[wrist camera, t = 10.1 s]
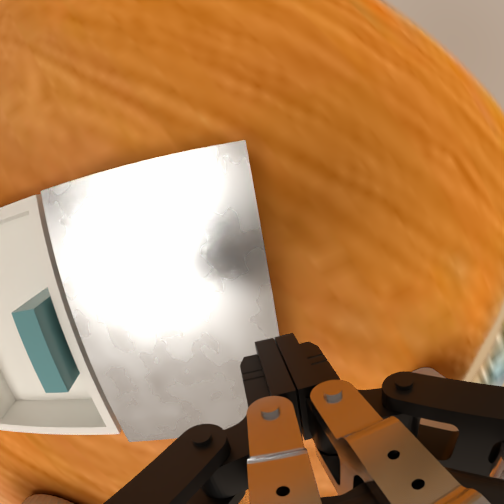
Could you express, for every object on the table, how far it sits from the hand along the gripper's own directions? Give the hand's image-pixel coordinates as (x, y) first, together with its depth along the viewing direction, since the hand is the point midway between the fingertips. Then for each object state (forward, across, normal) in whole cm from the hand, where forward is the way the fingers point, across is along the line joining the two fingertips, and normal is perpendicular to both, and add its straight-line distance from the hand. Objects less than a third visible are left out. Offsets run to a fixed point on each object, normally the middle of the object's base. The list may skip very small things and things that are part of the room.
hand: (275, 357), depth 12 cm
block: (+9, +13, +1) cm, 16 cm away
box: (+12, +19, 0) cm, 23 cm away
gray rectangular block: (+12, +5, 0) cm, 13 cm away
